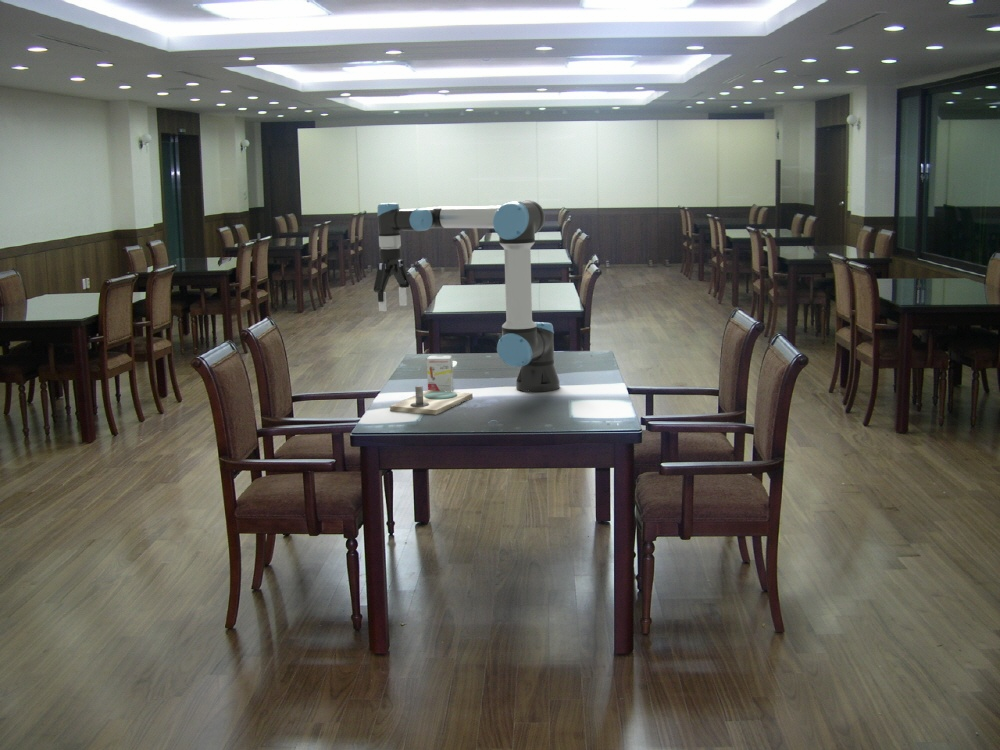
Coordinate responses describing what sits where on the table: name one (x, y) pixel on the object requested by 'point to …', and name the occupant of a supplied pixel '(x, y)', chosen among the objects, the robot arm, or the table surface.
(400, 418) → the table surface
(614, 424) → the table surface
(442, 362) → the ink box
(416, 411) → the board
